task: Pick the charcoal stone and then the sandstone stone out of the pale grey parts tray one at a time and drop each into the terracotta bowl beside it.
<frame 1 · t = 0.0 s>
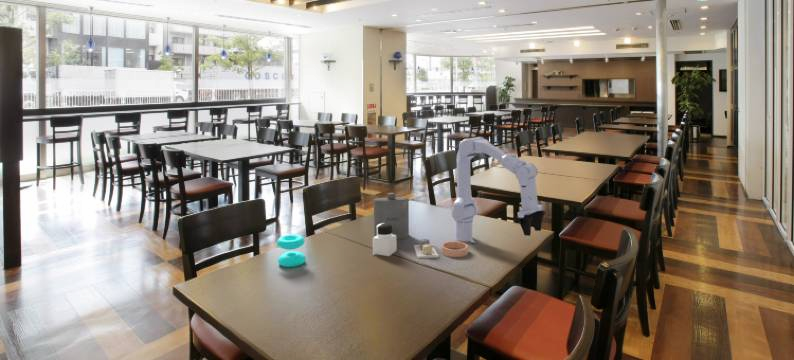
hand: (532, 232, 171), 11 cm above the table, tool pointing down, fingers open, 7 cm apart
charcoal pebble: (424, 249, 183), point 1 cm above the table, touching parts tray
terracotta bowl: (454, 254, 180), on the table
parts tray: (426, 253, 180), on the table
donuts: (292, 263, 172), on the table
flask: (391, 238, 199), on the table
medicine bottle: (384, 254, 181), on the table
sandstone pebble: (427, 254, 177), point 1 cm above the table, touching parts tray
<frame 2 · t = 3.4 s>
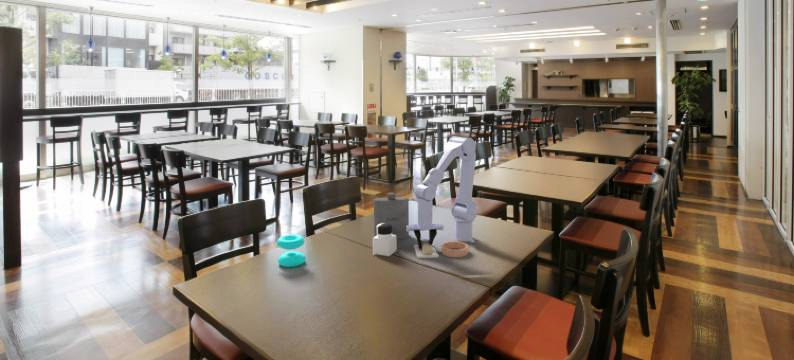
hand: (424, 247, 183), 1 cm above the table, tool pointing down, fingers closed on charcoal pebble, 4 cm apart
charcoal pebble: (424, 249, 183), point 1 cm above the table, touching gripper, parts tray
everything else where it was.
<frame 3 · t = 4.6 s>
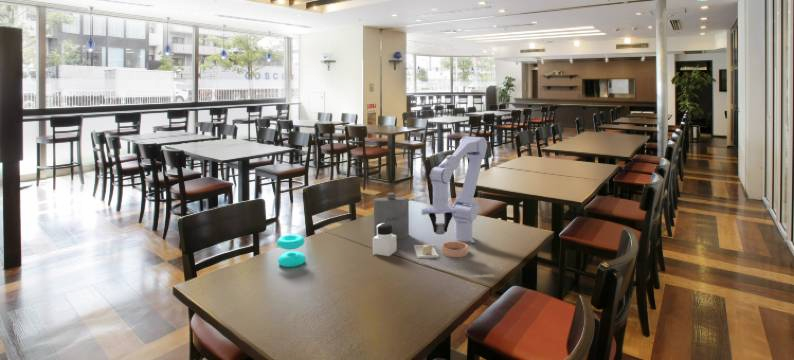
hand: (440, 231, 181), 8 cm above the table, tool pointing down, fingers closed on charcoal pebble, 4 cm apart
charcoal pebble: (440, 233, 181), point 8 cm above the table, touching gripper
everything else where it was.
when the fingers open (4 cm above the table, at t = 6.1 s): charcoal pebble drops 3 cm, resting on terracotta bowl.
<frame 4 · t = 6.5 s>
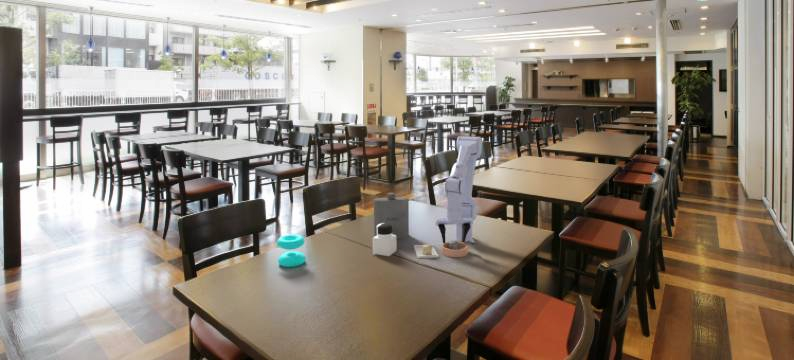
hand: (453, 242, 181), 4 cm above the table, tool pointing down, fingers open, 7 cm apart
charcoal pebble: (453, 250, 182), point 1 cm above the table, touching terracotta bowl
everything else where it was.
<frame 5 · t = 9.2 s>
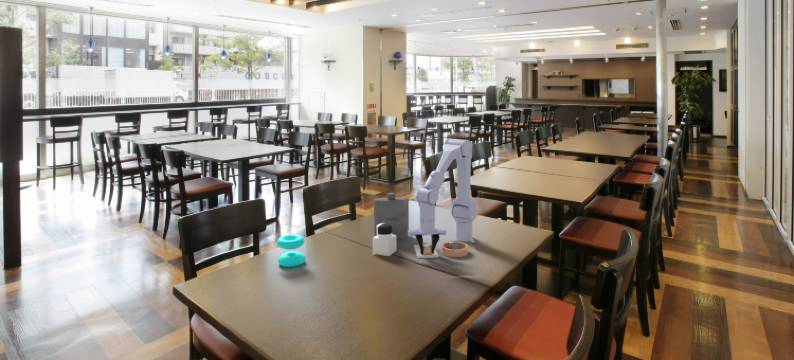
hand: (427, 253, 177), 1 cm above the table, tool pointing down, fingers closed on sandstone pebble, 4 cm apart
sandstone pebble: (427, 254, 177), point 1 cm above the table, touching gripper, parts tray
everything else where it was.
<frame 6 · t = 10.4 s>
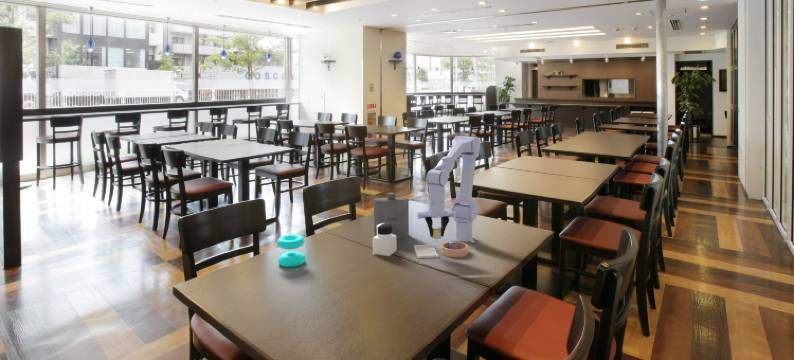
hand: (436, 235, 176), 8 cm above the table, tool pointing down, fingers closed on sandstone pebble, 4 cm apart
sandstone pebble: (436, 237, 176), point 8 cm above the table, touching gripper
everything else where it was.
when the fingers open (4 cm above the table, at t = 12.0 s): sandstone pebble drops 3 cm, resting on terracotta bowl.
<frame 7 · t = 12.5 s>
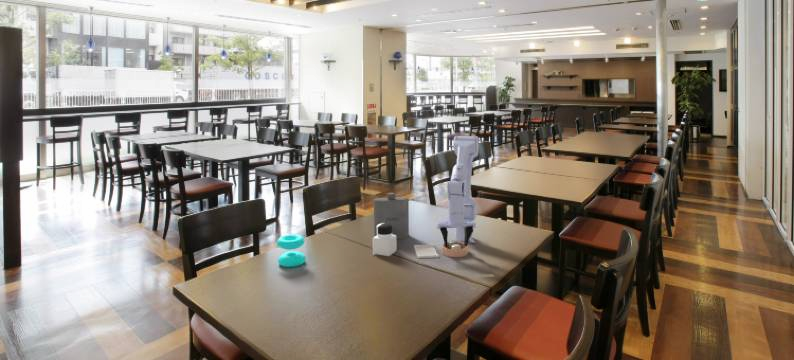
hand: (455, 245, 177), 4 cm above the table, tool pointing down, fingers open, 7 cm apart
sandstone pebble: (456, 254, 177), point 1 cm above the table, touching terracotta bowl
everything else where it was.
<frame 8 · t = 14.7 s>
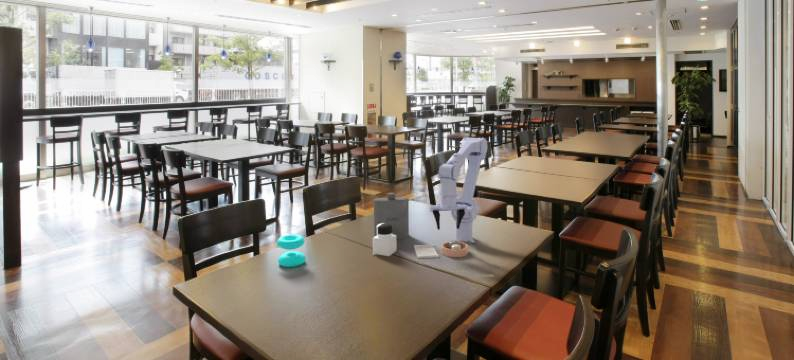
hand: (448, 228, 181), 9 cm above the table, tool pointing down, fingers open, 7 cm apart
nothing on the table moved.
at the end: charcoal pebble inside the target area on the terracotta bowl (2.1 cm from its centre), point 0.6 cm above the terracotta bowl's base; sandstone pebble inside the target area on the terracotta bowl (2.3 cm from its centre), point 0.6 cm above the terracotta bowl's base; medicine bottle moved 0.2 cm from its start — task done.
